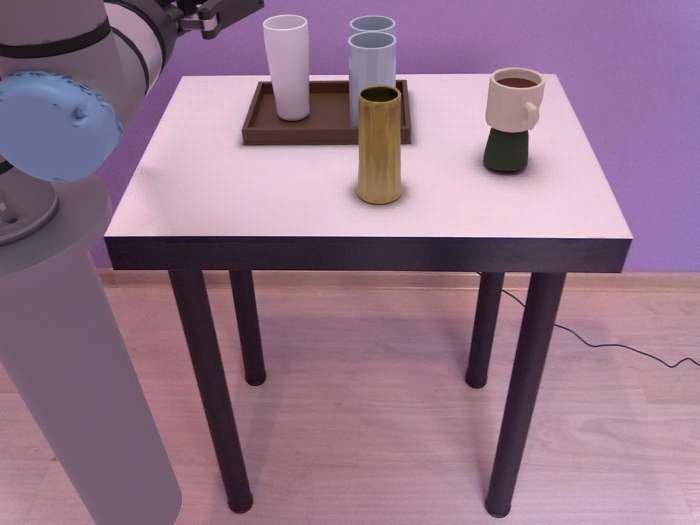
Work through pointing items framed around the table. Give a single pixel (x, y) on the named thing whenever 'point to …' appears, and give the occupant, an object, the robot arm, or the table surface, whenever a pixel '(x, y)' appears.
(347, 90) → the tray
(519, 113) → the character mug
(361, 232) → the table surface
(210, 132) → the table surface
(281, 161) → the table surface
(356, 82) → the tumbler
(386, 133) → the vase
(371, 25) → the tumbler
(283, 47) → the drinking glass
